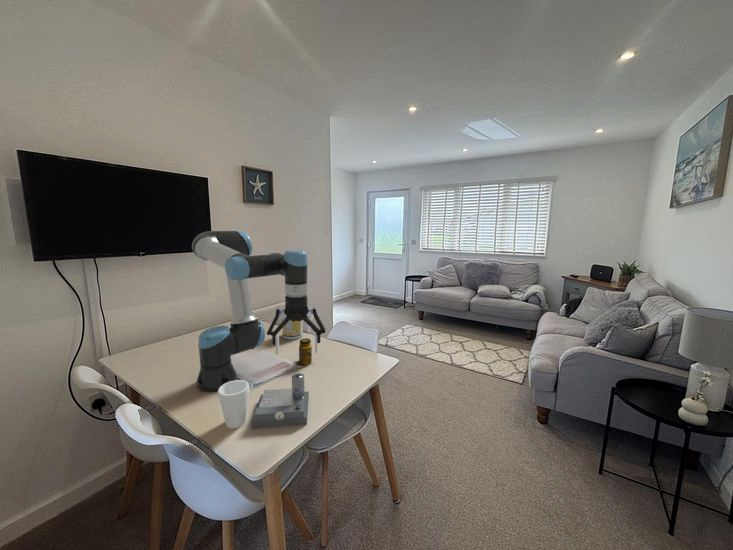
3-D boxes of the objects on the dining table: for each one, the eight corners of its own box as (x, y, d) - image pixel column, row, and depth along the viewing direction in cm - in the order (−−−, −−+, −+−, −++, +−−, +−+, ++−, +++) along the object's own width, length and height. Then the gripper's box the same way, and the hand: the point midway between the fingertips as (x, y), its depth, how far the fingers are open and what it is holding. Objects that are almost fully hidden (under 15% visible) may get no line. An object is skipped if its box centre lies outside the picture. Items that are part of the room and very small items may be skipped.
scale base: (251, 428, 98) (251, 413, 97) (261, 400, 113) (260, 387, 112) (306, 424, 100) (306, 409, 99) (308, 397, 116) (308, 384, 115)
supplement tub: (287, 331, 185) (286, 306, 182) (305, 333, 183) (305, 307, 181) (278, 339, 173) (278, 311, 170) (298, 340, 172) (298, 313, 169)
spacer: (291, 400, 106) (291, 379, 105) (292, 393, 110) (292, 373, 109) (304, 399, 107) (303, 378, 105) (304, 392, 111) (304, 372, 110)
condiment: (314, 364, 143) (314, 341, 141) (298, 368, 139) (297, 344, 137) (308, 358, 149) (308, 336, 147) (292, 362, 145) (292, 339, 143)
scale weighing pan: (258, 411, 102) (258, 407, 101) (264, 393, 112) (264, 390, 112) (303, 408, 104) (302, 404, 104) (304, 391, 115) (304, 387, 114)
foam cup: (256, 418, 103) (255, 384, 101) (234, 435, 94) (232, 398, 92) (237, 410, 107) (235, 377, 104) (214, 426, 98) (211, 390, 96)
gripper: (256, 298, 97) (258, 358, 100) (332, 297, 101) (332, 355, 104) (261, 292, 104) (263, 348, 108) (331, 292, 108) (331, 346, 112)
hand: (297, 352), depth 106 cm, fingers open, 13 cm apart
